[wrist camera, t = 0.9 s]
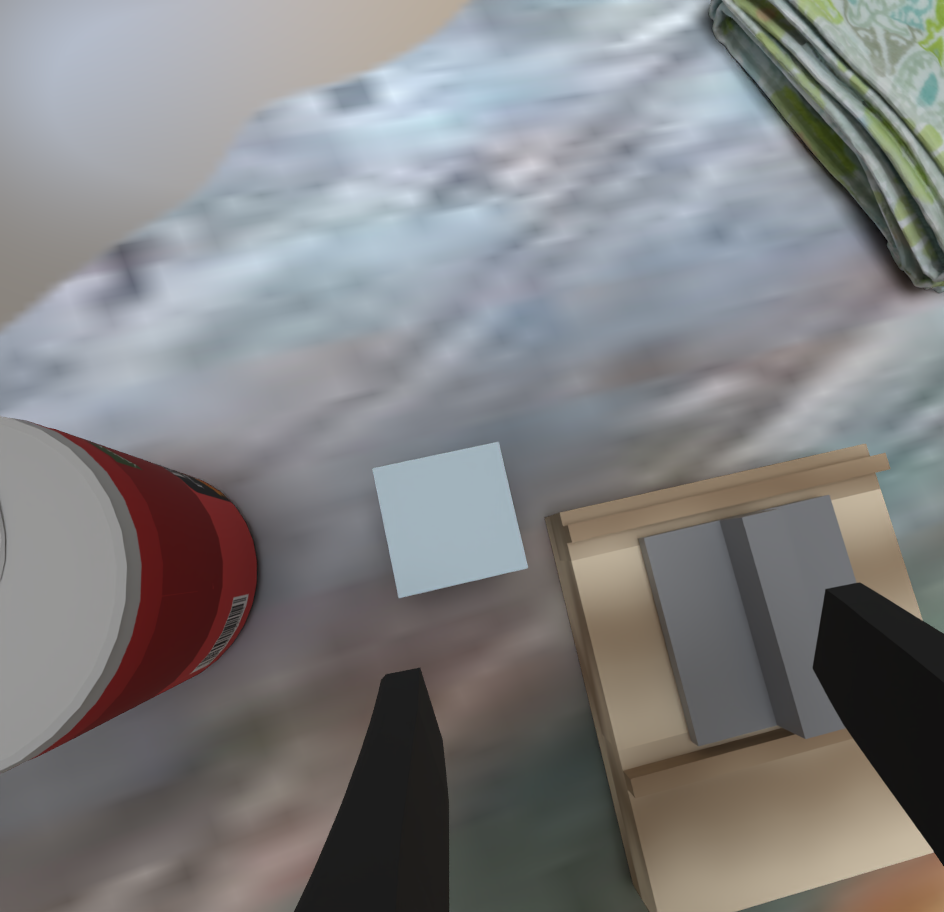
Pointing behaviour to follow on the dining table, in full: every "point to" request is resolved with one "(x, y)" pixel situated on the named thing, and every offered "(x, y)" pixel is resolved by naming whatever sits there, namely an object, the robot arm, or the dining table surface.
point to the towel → (859, 104)
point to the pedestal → (738, 758)
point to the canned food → (106, 584)
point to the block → (449, 519)
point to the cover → (749, 617)
